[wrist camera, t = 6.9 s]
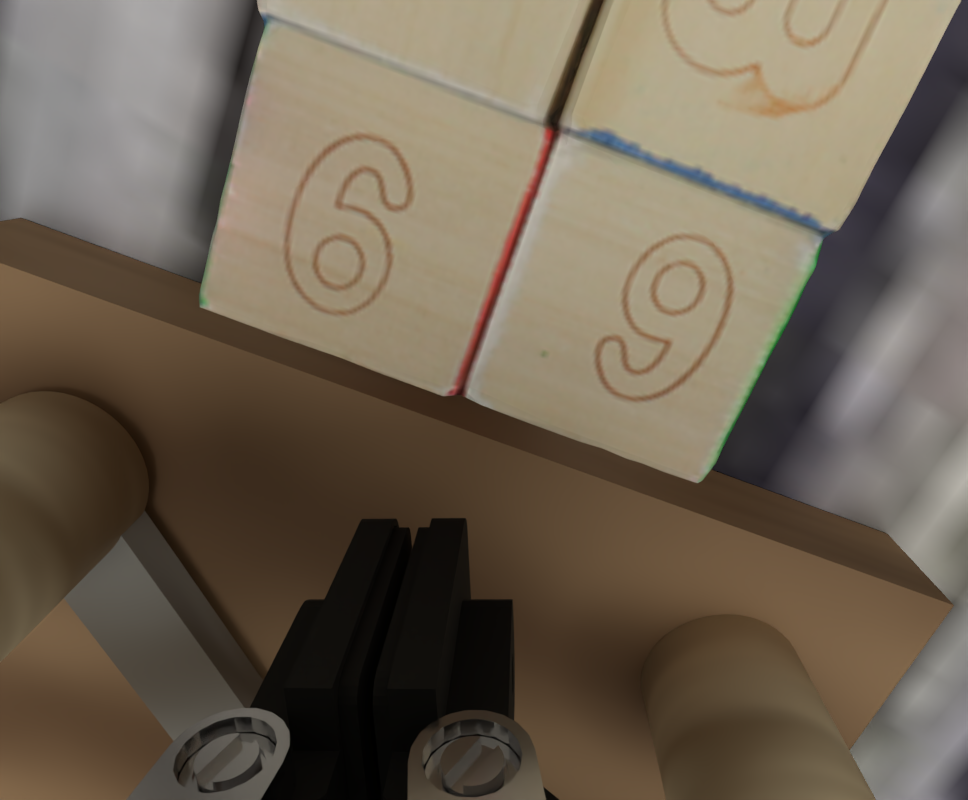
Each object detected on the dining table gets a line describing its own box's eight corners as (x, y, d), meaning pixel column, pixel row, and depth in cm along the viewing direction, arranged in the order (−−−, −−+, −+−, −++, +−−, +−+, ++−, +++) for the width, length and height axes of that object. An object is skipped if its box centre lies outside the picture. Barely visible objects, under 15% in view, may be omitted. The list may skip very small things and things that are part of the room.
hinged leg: (408, 841, 18) (363, 1131, 13) (287, 879, 19) (198, 1169, 14) (84, 361, 14) (-176, 495, 9) (-55, 430, 15) (-374, 593, 10)
